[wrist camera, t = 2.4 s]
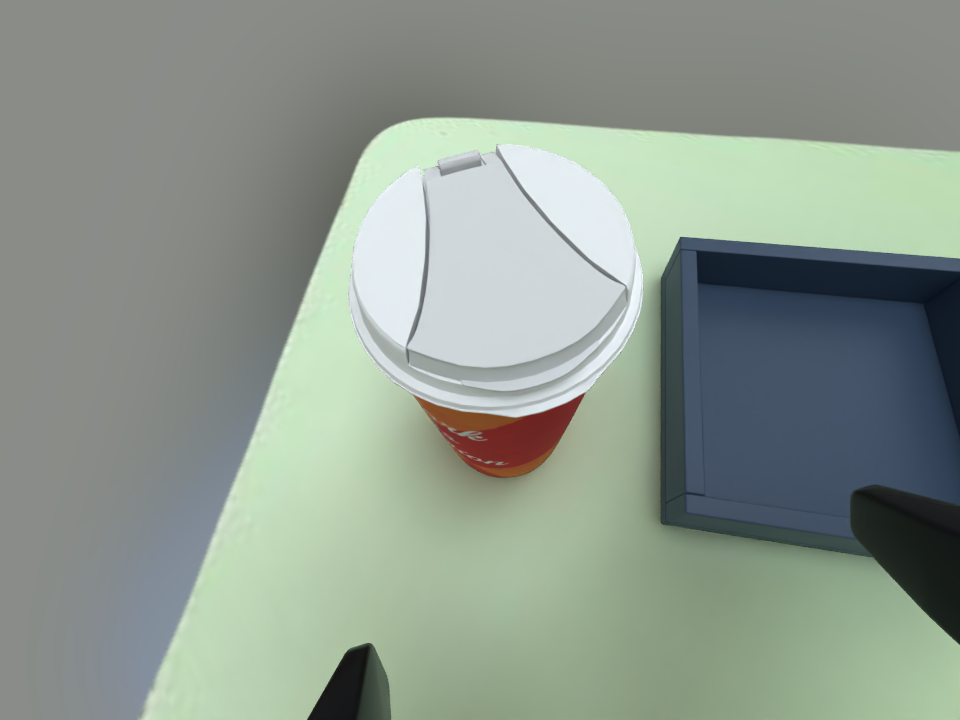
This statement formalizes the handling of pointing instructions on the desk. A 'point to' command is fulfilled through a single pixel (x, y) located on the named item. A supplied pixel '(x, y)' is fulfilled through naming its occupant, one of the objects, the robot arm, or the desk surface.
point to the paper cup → (496, 297)
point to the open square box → (804, 386)
